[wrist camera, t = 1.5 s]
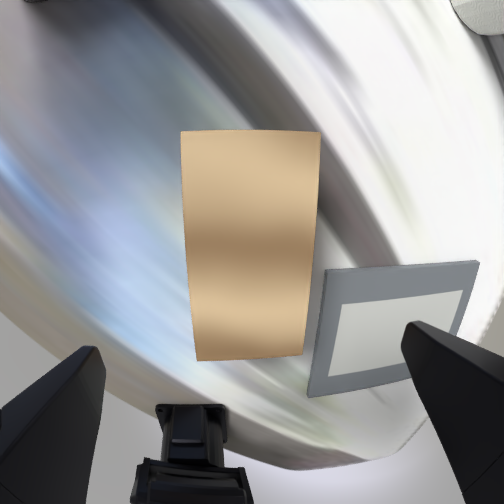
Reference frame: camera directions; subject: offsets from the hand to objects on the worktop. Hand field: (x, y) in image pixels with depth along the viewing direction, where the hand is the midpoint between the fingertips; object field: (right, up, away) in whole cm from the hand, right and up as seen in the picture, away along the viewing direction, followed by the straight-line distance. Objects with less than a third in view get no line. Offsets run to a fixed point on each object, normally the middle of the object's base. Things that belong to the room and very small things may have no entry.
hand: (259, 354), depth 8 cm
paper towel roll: (+19, +24, +7) cm, 31 cm away
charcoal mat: (+13, -4, +17) cm, 22 cm away
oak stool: (-1, +5, +12) cm, 13 cm away
